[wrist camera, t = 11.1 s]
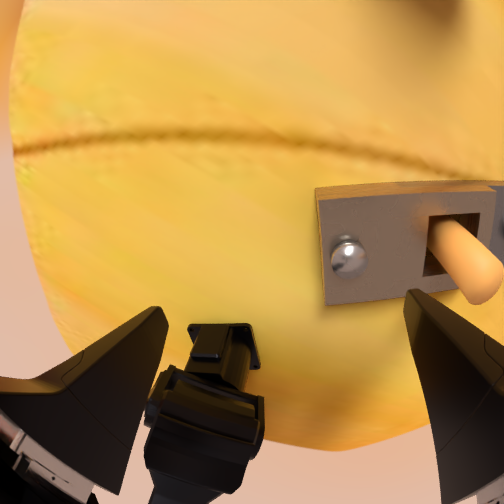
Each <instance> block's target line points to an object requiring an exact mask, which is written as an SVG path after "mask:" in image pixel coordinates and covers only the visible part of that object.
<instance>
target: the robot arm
mask: <svg viewBox="0 0 504 504" xmlns="http://www.w3.org/2000/svg"><path fill="white" fill-rule="evenodd" d="M403 312H404V318H405V322H406V327H407V332H408V336H409V341H410V346H411V351H412V355H413V358H414V361H415V365H416V368H417V371H418V375H419V379H420V382H421V386H422V390H423V394H424V398H425V402H426V406H427V410H428V414H429V419H430V424H431V429H432V434H433V439H434V445H435V451H436V458H437V465H438V472H439V481H440V491H441V503H442V504H455V503H457V502H460V501H462V500H465V499H467V498H469V497H472V496H474V495H477V504H504V346H503V345H501V344H500V343H499V342H497V341H496V340H494V339H493V338H491V337H490V336H489V335H487V334H485V333H484V332H483V331H481V330H480V329H479V328H477V327H476V326H474V325H473V324H471V323H470V322H469V321H467V320H466V319H464V318H463V317H461V316H460V315H458V314H457V313H455V312H454V311H452V310H451V309H449V308H448V307H446V306H445V305H443V304H442V303H440V302H439V301H437V300H436V299H434V298H433V297H431V296H429V295H428V294H426V293H425V292H423V291H422V290H420V289H418V288H415V289H408V290H407V292H406V297H405V303H404V309H403ZM168 328H169V324H168V321H167V319H166V316H165V314H164V312H163V309H162V308H161V307H160V306H151V307H149V308H147V309H146V310H144V311H143V312H141V313H139V314H138V315H136V316H135V317H133V318H132V319H130V320H129V321H127V322H125V323H124V324H122V325H121V326H119V327H118V328H116V329H115V330H113V331H111V332H110V333H108V334H107V335H105V336H104V337H102V338H101V339H99V340H98V341H96V342H94V343H93V344H91V345H90V346H88V347H87V348H85V350H82V351H80V352H79V353H77V354H76V355H74V356H73V357H71V358H69V359H68V360H66V361H64V362H63V363H61V364H59V365H57V366H56V367H54V368H52V369H51V370H49V371H47V372H45V373H43V374H41V375H39V376H38V377H35V378H32V379H16V378H9V377H1V376H0V504H99V503H98V501H97V498H96V496H95V494H94V493H92V492H91V491H92V489H93V486H94V485H96V486H98V487H100V488H102V489H104V490H107V491H109V492H111V493H113V494H115V495H119V493H120V489H121V486H122V482H123V478H124V475H125V471H126V467H127V464H128V460H129V457H130V453H131V450H132V446H133V443H134V440H135V436H136V433H137V430H138V427H139V424H140V420H141V417H142V414H143V411H145V415H144V417H145V420H144V425H145V426H147V427H149V428H151V429H150V432H149V434H148V437H147V440H146V443H145V446H144V459H145V464H146V468H147V469H149V471H150V474H151V477H152V480H153V484H154V488H153V491H152V494H151V497H150V500H149V503H148V504H209V503H210V502H211V501H213V500H214V499H216V498H217V497H219V496H220V495H221V494H223V493H226V494H232V493H234V492H235V490H237V489H238V488H239V487H240V486H241V484H242V480H243V477H244V473H245V470H246V467H247V464H248V462H249V460H252V459H254V458H255V456H256V455H257V453H258V451H259V449H260V447H261V444H262V441H263V437H264V431H265V419H264V397H262V396H259V395H258V396H255V395H252V394H249V393H245V387H246V382H247V378H248V373H249V370H257V369H259V368H260V365H261V364H260V360H259V356H258V351H257V347H256V343H255V339H254V335H253V331H252V327H251V325H250V324H248V323H234V324H190V325H189V326H188V328H187V330H188V333H189V335H190V337H191V340H192V342H193V344H194V345H193V348H192V350H191V352H190V357H189V359H188V362H187V364H186V367H185V369H184V371H183V370H181V369H178V368H176V366H173V365H171V364H170V365H169V367H168V369H167V370H165V371H164V372H160V374H159V377H158V379H157V381H156V383H155V385H154V386H153V388H152V389H151V387H152V384H153V381H154V378H155V375H156V372H157V369H158V367H159V364H160V361H161V357H162V353H163V349H164V345H165V340H166V336H167V332H168ZM245 328H247V329H245Z"/></svg>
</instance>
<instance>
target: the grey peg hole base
mask: <svg viewBox="0 0 504 504" xmlns="http://www.w3.org/2000/svg"><path fill="white" fill-rule="evenodd" d="M394 183H396V184H397V185H398V186H400V187H401V188H402V187H425V186H488V187H490V188H492V189H493V190H495V191H497V193H496V204H495V213H494V220H493V227H492V233H491V239H490V245H489V251H490V252H491V253H492V254H493V255H494V256H495V257H496V258H497V259H498V260H499V261H500V262H501V263H502V264H503V267H504V181H413V182H394ZM469 216H470V213H464V214H460V221H459V224H460V225H461V226H463V227H464V228H465V229H466V230H467V231H468V225H469ZM435 264H441V263H440V262H439V261H438V260H437V258H436V257H435V256H434V255H430V256H425V261H424V266H427V265H435Z"/></svg>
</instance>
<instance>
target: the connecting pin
mask: <svg viewBox="0 0 504 504" xmlns="http://www.w3.org/2000/svg"><path fill="white" fill-rule="evenodd" d="M426 246H427V247H428V248H429V250H430V251H431V252H432V253H433V255H434V256H435V257H436V258H437V260H438V261H439V262H440V263H441V265H442V266H443V267H444V269H445V270H446V271H447V272H448V274H449V275H450V276H451V278H452V279H453V281H454V282H455V283H456V285H457V286H458V287H459V289H460V290H461V292H462V293H463V294H464V296H465V297H466V299H467V300H468V302H469V303H471V304H473V305H479V304H482V303H484V302H486V301H488V300H489V299H490V298H491V297H493V296H494V294H495V293H496V292H497V291H498V289H499V287H500V285H501V283H502V280H503V277H504V267H503V264H502V263H501V262H500V261H499V260H498V259H497V258H496V257H495V256H494V255H493V254H492V253H491V252H490V251H489V250H488V249H487V248H486V247H485V246H484V245H483V244H482V243H481V242H480V241H478V240H477V239H476V238H475V237H474V236H473V235H472V234H471V233H470V232H468V231H467V230H466V229H465V228H464V227H463V226H461V225H460V224H459V223H458V222H457V221H455V220H454V219H453V218H452V217H451V216H449V215H433V216H429V221H428V234H427V244H426Z"/></svg>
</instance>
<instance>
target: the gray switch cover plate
mask: <svg viewBox="0 0 504 504" xmlns="http://www.w3.org/2000/svg"><path fill="white" fill-rule="evenodd" d="M496 193H497V191H495V190H493V189H492V188H490V187H488V186H425V187H402V188H401V187H400V186H398V185H397V184H396V183H394V182H391V183H373V184H358V185H345V186H333V187H322V188H315V194H316V203H317V213H318V224H319V236H320V249H321V264H322V282H323V291H324V300H325V305H336V304H346V303H356V302H365V301H374V300H383V299H391V298H399V297H406V292H407V290H408V289H415V288H418V289H420V290H422V291H423V292H425V293H426V294H427V293H433V292H440V291H446V290H452V289H458V288H459V287H458V286H457V285H456V283H455V282H454V281H453V279H452V278H451V276H450V275H449V274H448V272H447V271H446V270H445V269H444V267H443V266H442V265H441V264H435V265H427V266H424V261H425V253H426V244H427V234H428V221H429V216H433V215H448V214H464V213H470V216H469V225H468V232H470V233H471V234H472V235H473V236H474V237H475V238H476V239H477V240H478V241H480V242H481V243H482V244H483V245H484V246H485V247H486V248H487V249H488V250H489V245H490V239H491V233H492V227H493V220H494V213H495V204H496Z"/></svg>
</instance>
